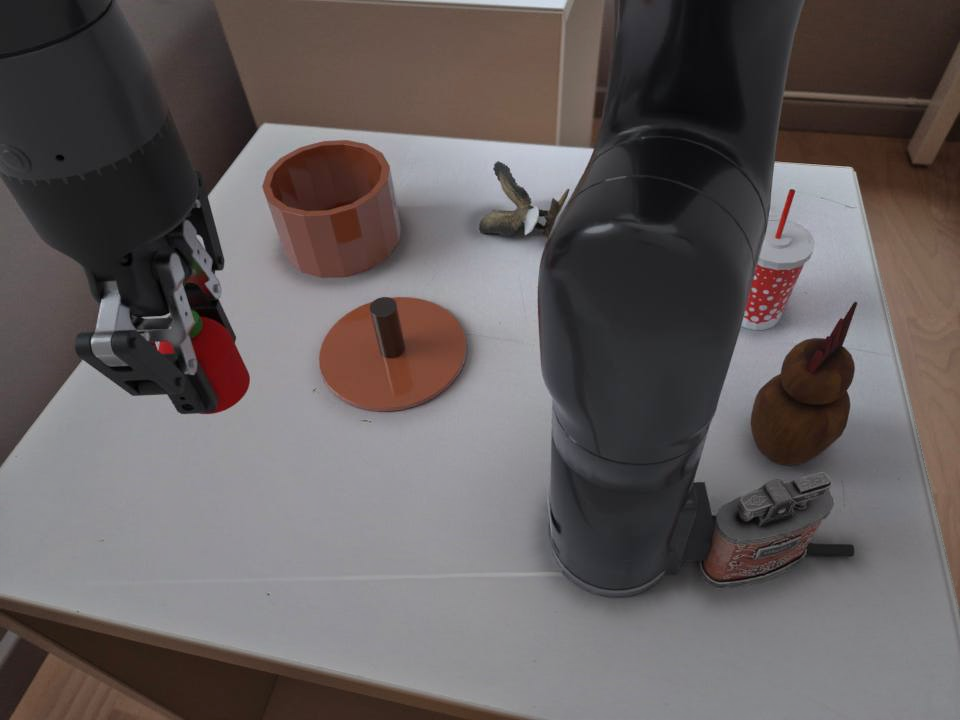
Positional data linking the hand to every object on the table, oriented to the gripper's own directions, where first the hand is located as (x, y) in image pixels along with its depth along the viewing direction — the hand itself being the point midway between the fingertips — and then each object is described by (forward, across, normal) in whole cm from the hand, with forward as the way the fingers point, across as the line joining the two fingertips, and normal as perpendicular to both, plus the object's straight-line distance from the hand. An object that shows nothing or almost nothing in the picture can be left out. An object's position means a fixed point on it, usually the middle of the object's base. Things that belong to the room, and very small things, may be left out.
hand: (210, 375), depth 45 cm
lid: (+18, +17, -7) cm, 26 cm away
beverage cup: (+19, +21, -41) cm, 50 cm away
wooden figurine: (+19, +6, -40) cm, 45 cm away
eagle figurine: (+19, +35, -19) cm, 44 cm away
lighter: (+19, -4, -35) cm, 40 cm away
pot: (+18, +34, 0) cm, 39 cm away
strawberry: (+1, 0, 0) cm, 1 cm away
